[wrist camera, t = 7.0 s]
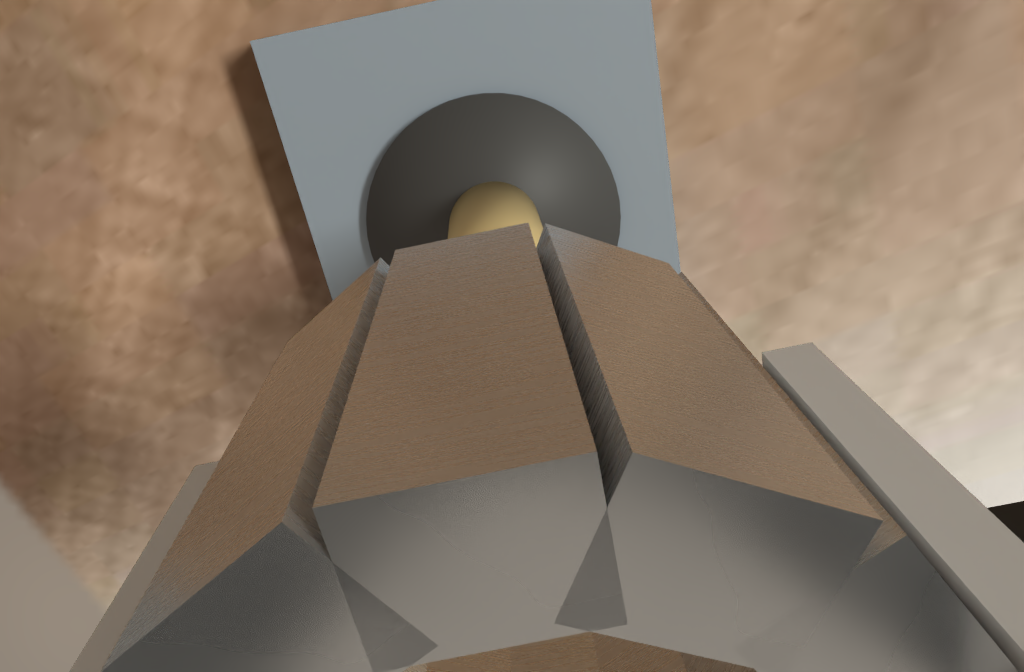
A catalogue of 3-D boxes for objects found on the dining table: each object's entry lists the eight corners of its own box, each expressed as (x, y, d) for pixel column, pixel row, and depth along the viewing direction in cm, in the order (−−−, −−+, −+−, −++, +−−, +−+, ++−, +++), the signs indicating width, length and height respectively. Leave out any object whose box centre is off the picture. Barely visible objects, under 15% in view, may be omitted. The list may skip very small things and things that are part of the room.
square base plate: (260, 39, 23) (119, 59, 14) (637, -43, 23) (753, -79, 14) (379, 419, 29) (335, 613, 20) (683, 358, 29) (786, 527, 19)
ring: (183, 294, 10) (-132, 597, 5) (745, 177, 10) (1068, 357, 5) (344, 696, 14) (260, 1156, 8) (776, 613, 13) (992, 1028, 8)
